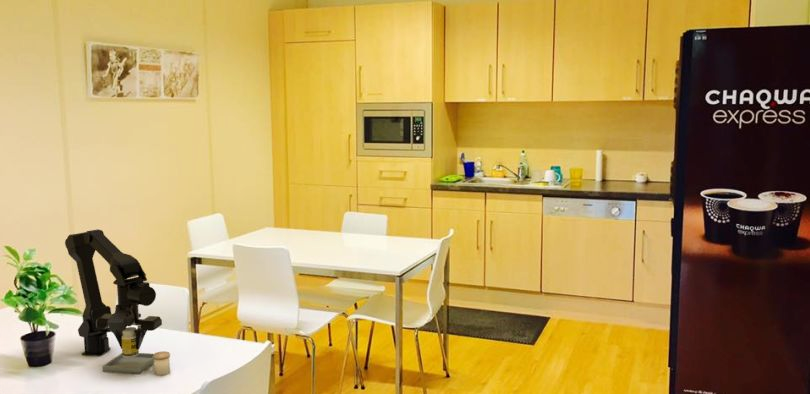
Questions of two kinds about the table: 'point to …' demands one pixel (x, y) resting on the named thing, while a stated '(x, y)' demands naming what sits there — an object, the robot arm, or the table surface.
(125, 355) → the supplement bottle
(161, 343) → the table surface
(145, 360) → the tray
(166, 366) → the sugar jar
